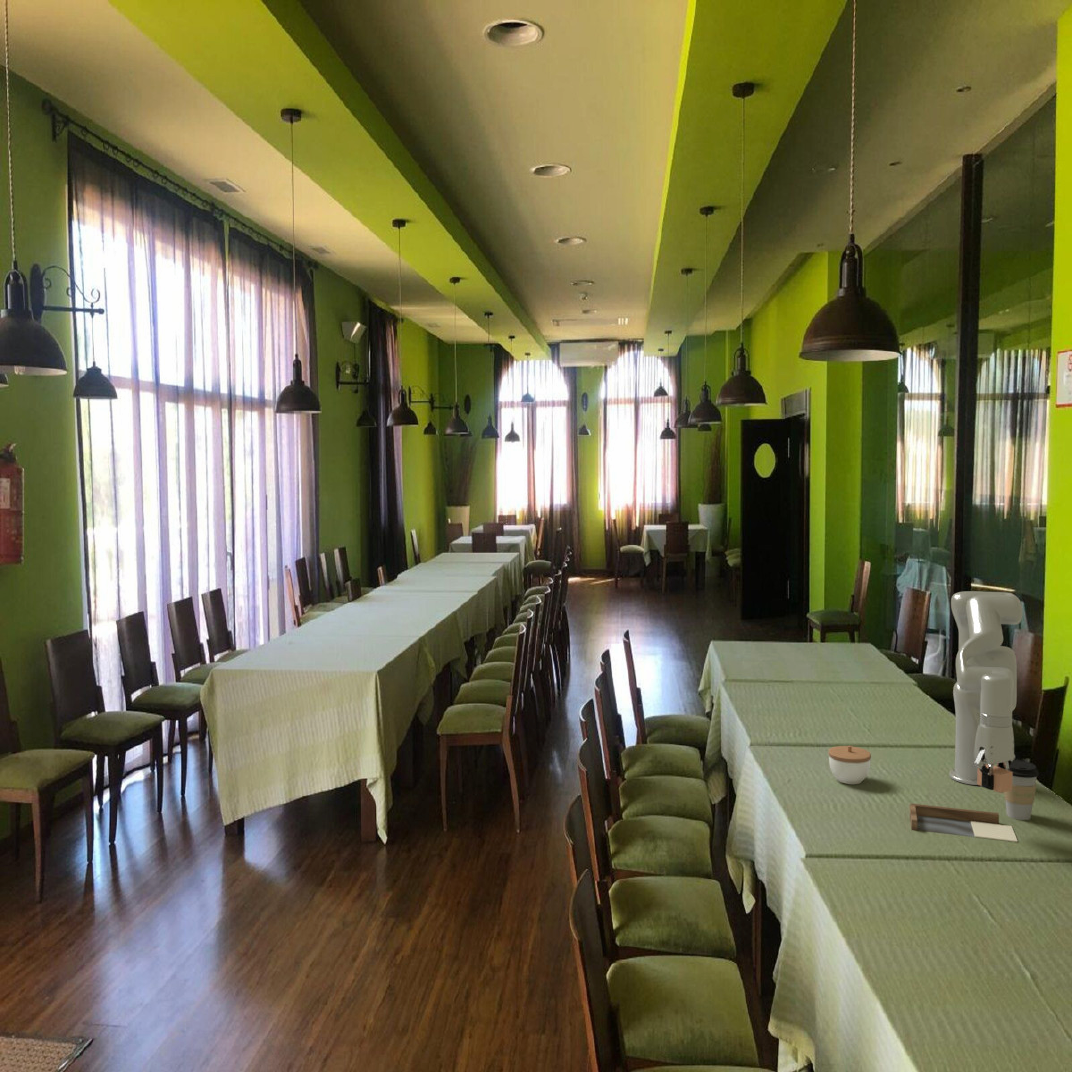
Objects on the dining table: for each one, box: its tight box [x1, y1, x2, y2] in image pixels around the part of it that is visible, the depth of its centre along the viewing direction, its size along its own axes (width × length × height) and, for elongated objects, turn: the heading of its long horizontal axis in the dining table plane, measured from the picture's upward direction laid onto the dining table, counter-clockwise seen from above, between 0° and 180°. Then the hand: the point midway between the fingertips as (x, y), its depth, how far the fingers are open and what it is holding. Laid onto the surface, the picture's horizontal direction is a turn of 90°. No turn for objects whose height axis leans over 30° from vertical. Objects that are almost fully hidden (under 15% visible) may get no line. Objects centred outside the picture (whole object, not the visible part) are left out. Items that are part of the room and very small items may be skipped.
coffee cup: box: [1003, 759, 1040, 821], centre depth 242 cm, size 9×9×15 cm
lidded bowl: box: [828, 745, 872, 785], centre depth 272 cm, size 13×13×11 cm
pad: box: [971, 821, 1018, 843], centre depth 232 cm, size 10×10×1 cm
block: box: [976, 765, 1013, 794], centre depth 231 cm, size 7×4×5 cm, turn 24°
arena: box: [909, 803, 1019, 843], centre depth 236 cm, size 12×26×3 cm, turn 69°
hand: (994, 785), depth 231 cm, fingers closed on block, 4 cm apart
